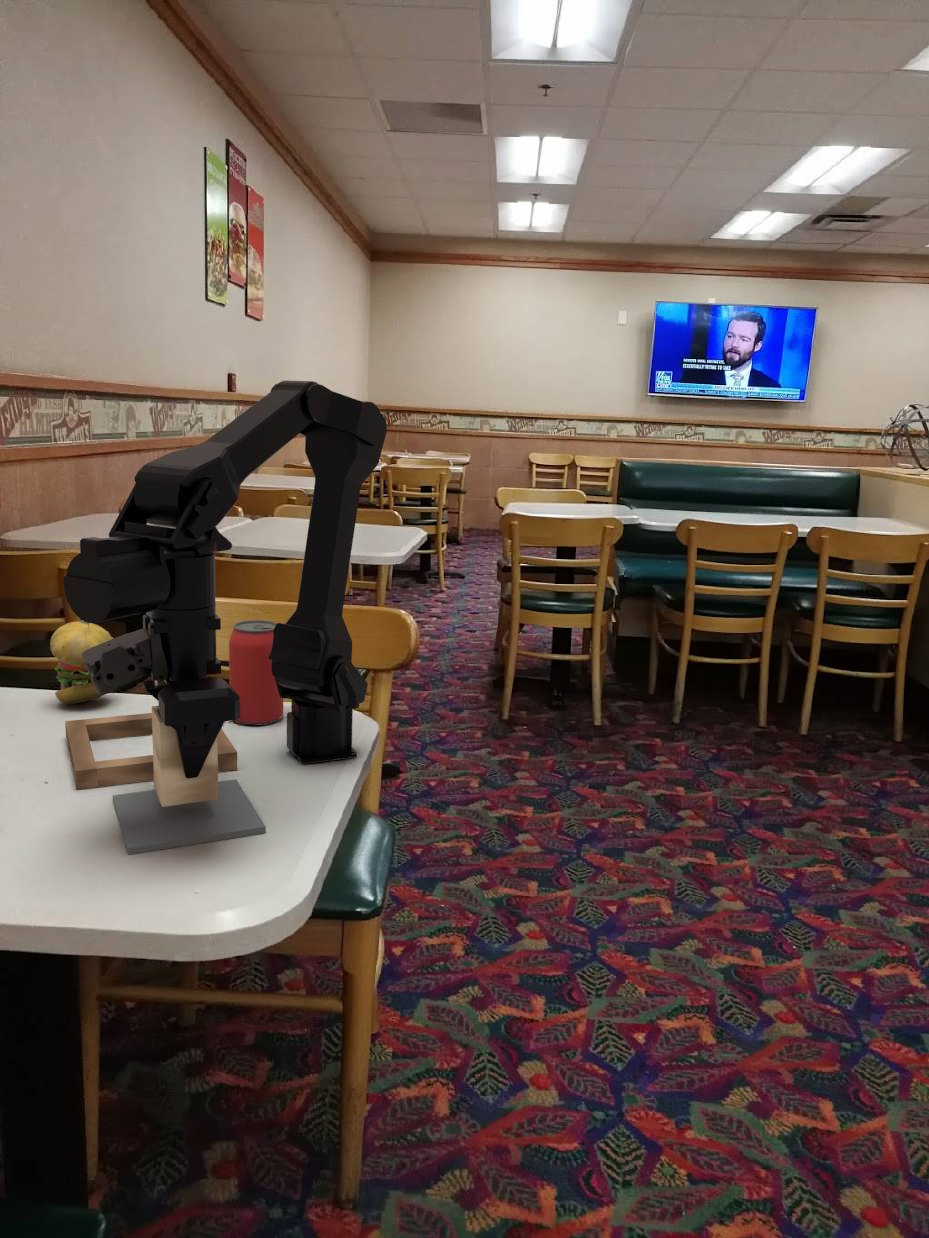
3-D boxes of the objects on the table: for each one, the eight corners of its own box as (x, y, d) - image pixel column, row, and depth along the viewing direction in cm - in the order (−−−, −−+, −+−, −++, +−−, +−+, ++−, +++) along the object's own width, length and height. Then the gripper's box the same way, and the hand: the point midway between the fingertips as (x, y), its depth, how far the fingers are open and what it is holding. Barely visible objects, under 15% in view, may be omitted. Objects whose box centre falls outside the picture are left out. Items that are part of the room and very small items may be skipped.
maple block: (207, 779, 91) (206, 701, 89) (218, 799, 86) (216, 717, 84) (154, 786, 88) (151, 706, 87) (162, 806, 84) (159, 722, 82)
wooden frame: (207, 723, 114) (207, 707, 113) (237, 769, 100) (237, 751, 99) (66, 737, 107) (65, 721, 106) (76, 789, 93) (75, 771, 92)
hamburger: (98, 692, 124) (94, 604, 121) (128, 704, 119) (125, 613, 116) (41, 704, 118) (36, 612, 115) (71, 718, 113) (66, 622, 111)
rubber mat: (236, 784, 96) (236, 779, 96) (265, 832, 85) (265, 826, 85) (112, 801, 90) (112, 795, 90) (127, 854, 80) (127, 848, 80)
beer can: (270, 729, 112) (270, 633, 110) (220, 723, 114) (219, 628, 111) (291, 713, 119) (291, 621, 116) (243, 707, 120) (242, 617, 117)
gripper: (77, 588, 88) (85, 743, 91) (96, 633, 72) (104, 820, 75) (198, 583, 93) (200, 731, 96) (241, 624, 77) (242, 800, 80)
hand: (186, 767), depth 87 cm, fingers closed on maple block, 5 cm apart
